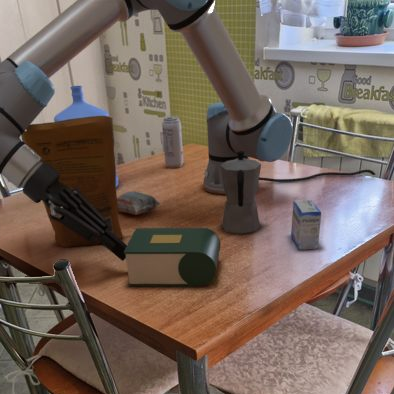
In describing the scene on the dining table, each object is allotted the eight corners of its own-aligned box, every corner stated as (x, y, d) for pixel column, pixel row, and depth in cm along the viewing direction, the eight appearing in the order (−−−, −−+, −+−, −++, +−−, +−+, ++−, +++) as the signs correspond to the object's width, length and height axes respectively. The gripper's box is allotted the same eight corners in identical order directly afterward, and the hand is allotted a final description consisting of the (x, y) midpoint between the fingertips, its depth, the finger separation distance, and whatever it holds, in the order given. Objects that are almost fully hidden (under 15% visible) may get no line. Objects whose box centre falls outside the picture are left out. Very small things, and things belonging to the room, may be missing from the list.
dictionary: (220, 260, 112) (220, 226, 108) (216, 286, 103) (215, 251, 98) (140, 260, 114) (135, 227, 110) (128, 286, 105) (123, 251, 100)
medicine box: (290, 236, 121) (292, 200, 116) (309, 235, 121) (312, 198, 116) (298, 250, 114) (301, 212, 109) (318, 248, 114) (322, 211, 109)
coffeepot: (222, 217, 133) (220, 144, 122) (259, 216, 132) (260, 142, 121) (220, 242, 120) (218, 163, 110) (261, 241, 119) (262, 161, 109)
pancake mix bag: (129, 244, 122) (111, 117, 106) (47, 252, 121) (17, 124, 105) (129, 233, 127) (112, 110, 111) (51, 240, 126) (22, 117, 110)
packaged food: (138, 221, 133) (136, 202, 130) (107, 212, 140) (105, 194, 137) (161, 211, 139) (159, 193, 136) (131, 203, 145) (129, 186, 142)
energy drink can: (186, 166, 172) (183, 117, 163) (170, 169, 170) (166, 120, 161) (178, 162, 176) (174, 114, 168) (162, 165, 174) (158, 117, 165)
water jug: (84, 178, 167) (67, 81, 150) (127, 181, 161) (114, 81, 145) (57, 194, 155) (35, 91, 139) (103, 198, 150) (85, 92, 134)
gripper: (34, 179, 107) (123, 253, 115) (9, 200, 96) (109, 281, 104) (54, 152, 103) (144, 231, 111) (30, 171, 93) (131, 257, 100)
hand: (127, 255), depth 107 cm, fingers closed
